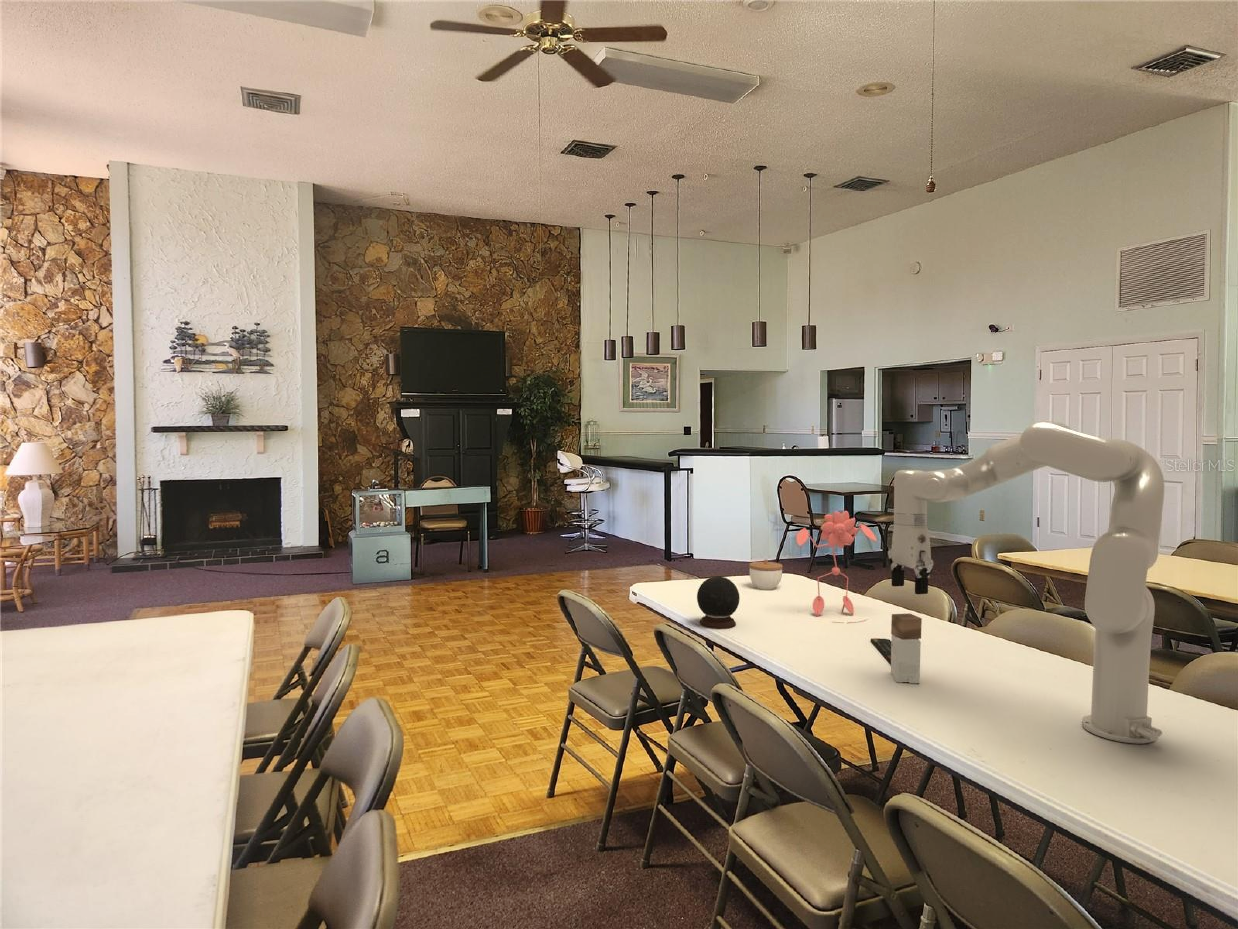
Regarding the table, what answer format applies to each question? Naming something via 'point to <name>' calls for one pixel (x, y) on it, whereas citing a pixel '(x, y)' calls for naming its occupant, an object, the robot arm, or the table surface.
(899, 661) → the small box
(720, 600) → the black ball on stand
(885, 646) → the remote control
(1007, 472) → the robot arm
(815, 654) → the table surface
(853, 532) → the pink flower doll
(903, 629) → the walnut cube
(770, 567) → the lidded bowl
